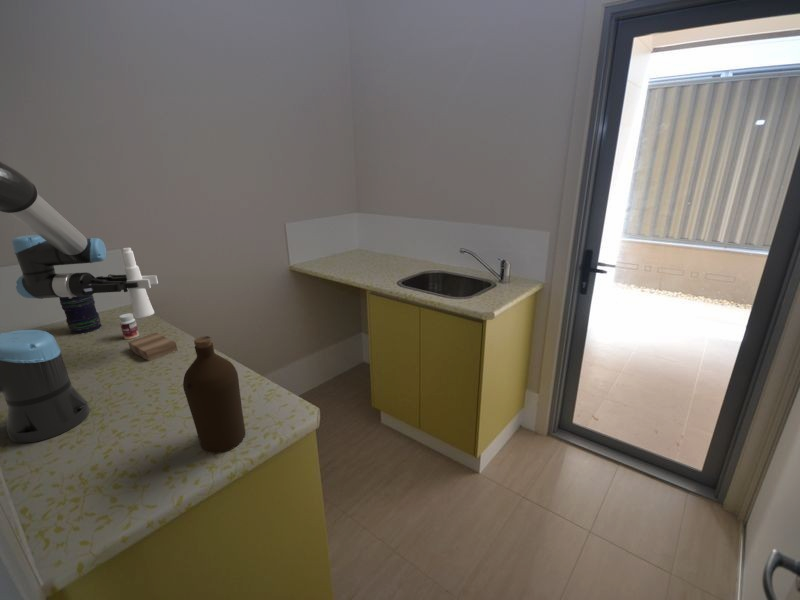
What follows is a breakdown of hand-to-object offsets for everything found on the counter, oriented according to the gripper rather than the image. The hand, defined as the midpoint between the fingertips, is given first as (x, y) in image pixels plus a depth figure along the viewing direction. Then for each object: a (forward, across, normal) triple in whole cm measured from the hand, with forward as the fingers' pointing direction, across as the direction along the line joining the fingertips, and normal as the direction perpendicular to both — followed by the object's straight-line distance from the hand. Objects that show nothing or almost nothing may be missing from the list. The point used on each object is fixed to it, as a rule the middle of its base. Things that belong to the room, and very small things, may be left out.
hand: (153, 281), depth 125 cm
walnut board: (-5, 0, -24) cm, 25 cm away
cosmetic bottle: (-5, 0, -11) cm, 12 cm away
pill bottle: (-19, -13, -24) cm, 33 cm away
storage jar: (-41, -22, -24) cm, 53 cm away
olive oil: (+35, +49, -24) cm, 65 cm away
